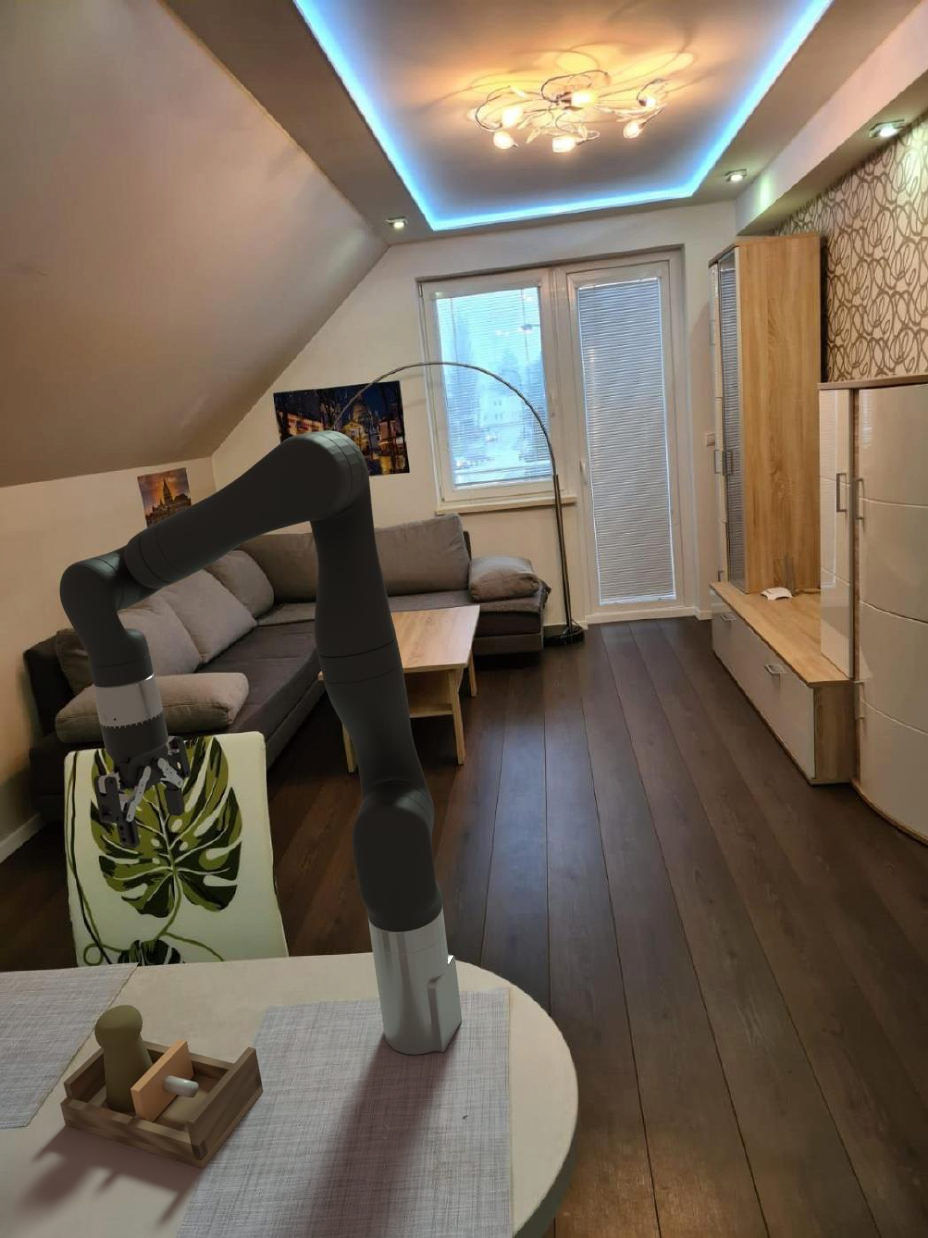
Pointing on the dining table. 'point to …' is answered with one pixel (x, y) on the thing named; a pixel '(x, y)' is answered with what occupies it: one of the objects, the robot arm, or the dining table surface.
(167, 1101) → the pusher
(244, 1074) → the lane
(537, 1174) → the dining table surface
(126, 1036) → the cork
